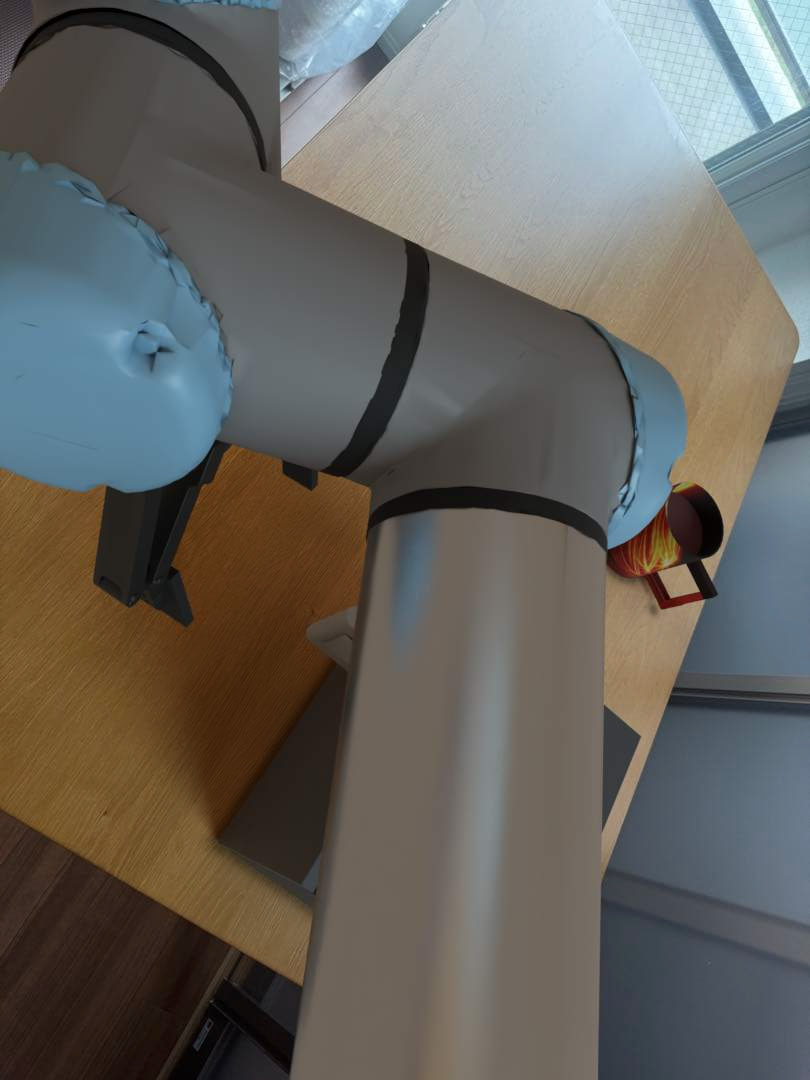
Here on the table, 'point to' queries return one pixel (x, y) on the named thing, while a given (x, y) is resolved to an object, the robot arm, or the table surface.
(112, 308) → the robot arm
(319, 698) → the cupboard door
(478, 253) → the table surface
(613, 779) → the cupboard
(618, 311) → the table surface
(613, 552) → the mug
